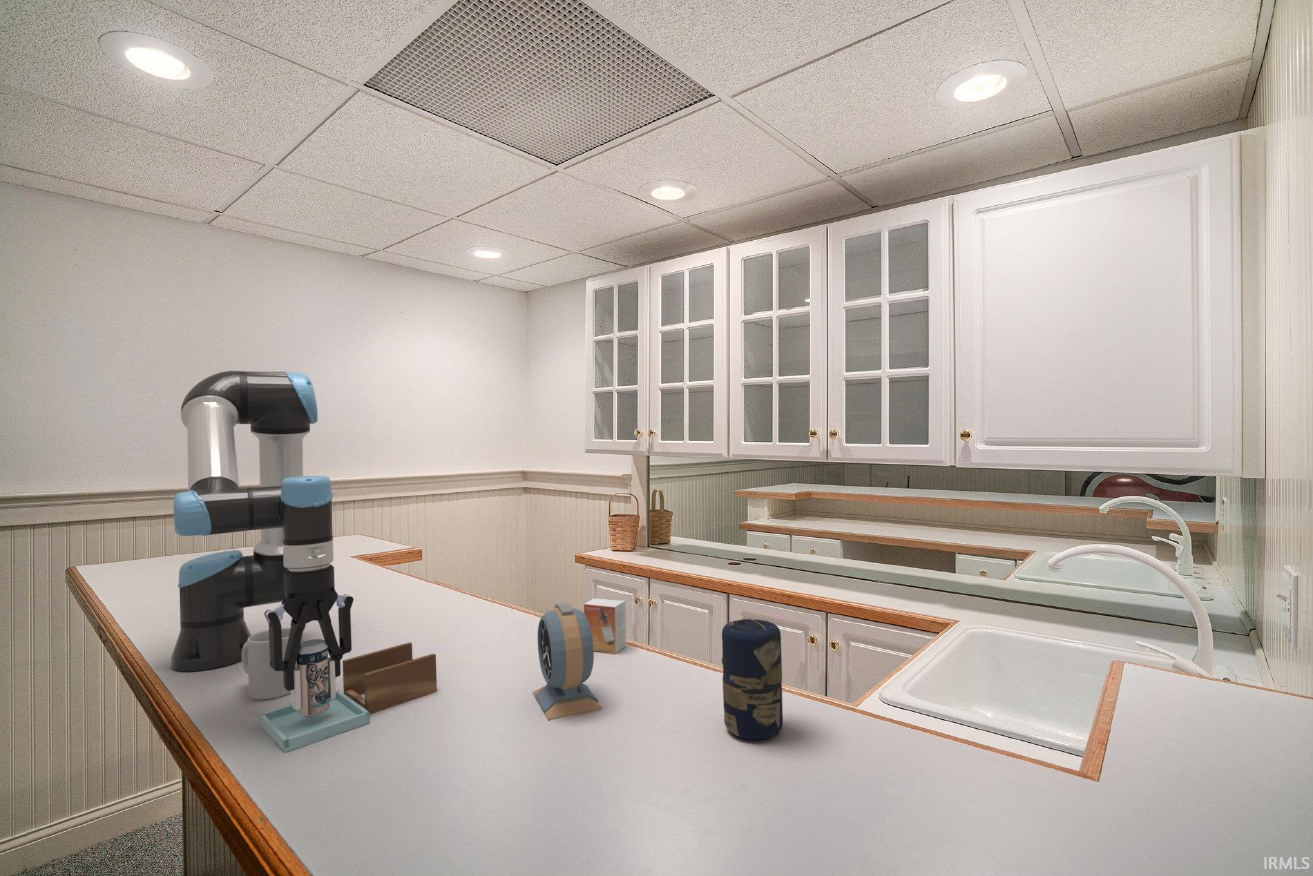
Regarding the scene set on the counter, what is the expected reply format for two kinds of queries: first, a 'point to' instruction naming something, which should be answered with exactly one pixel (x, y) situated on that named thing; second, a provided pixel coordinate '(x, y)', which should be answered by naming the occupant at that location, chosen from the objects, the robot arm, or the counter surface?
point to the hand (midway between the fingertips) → (313, 701)
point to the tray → (312, 723)
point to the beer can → (313, 677)
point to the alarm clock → (565, 663)
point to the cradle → (388, 677)
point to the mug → (263, 666)
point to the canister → (752, 678)
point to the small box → (607, 624)
